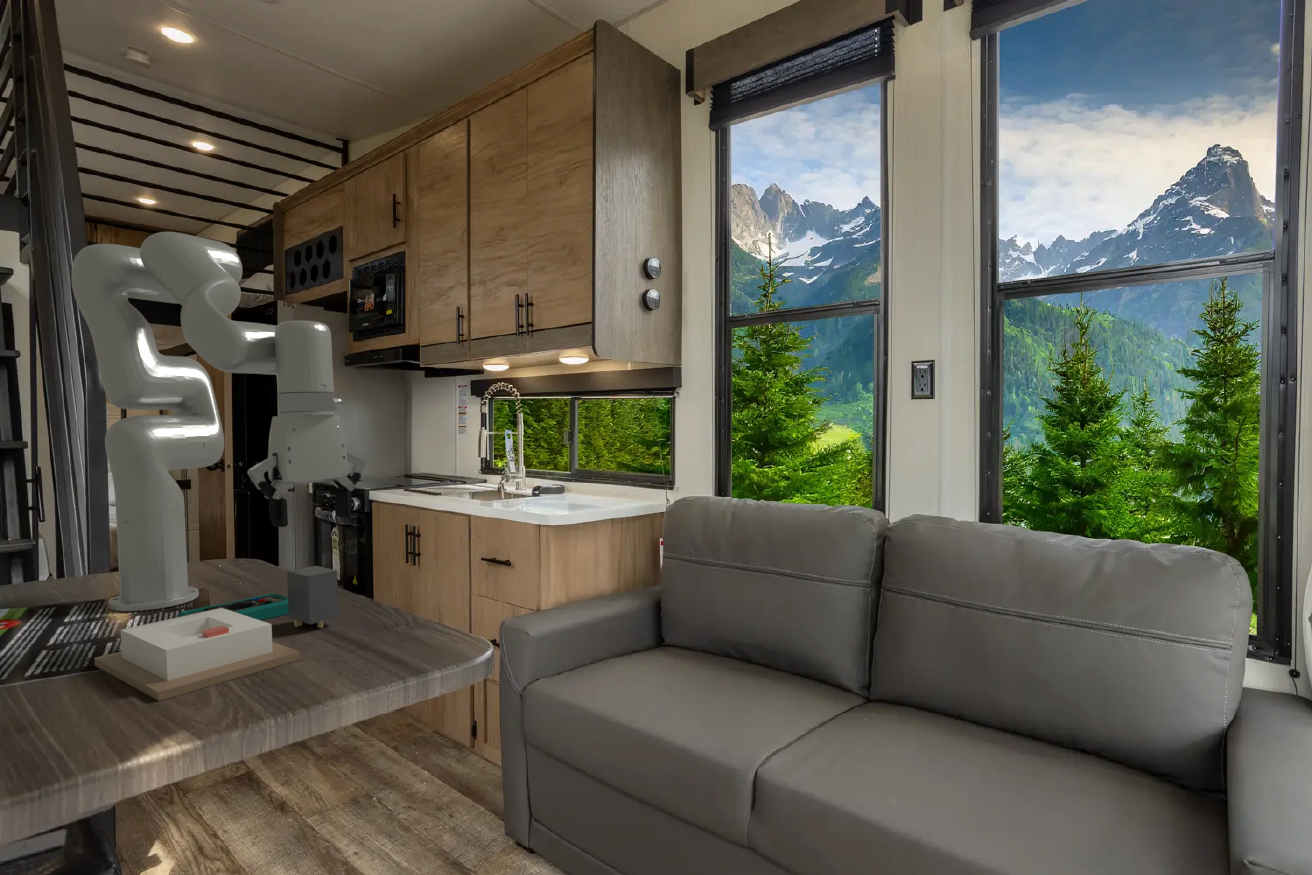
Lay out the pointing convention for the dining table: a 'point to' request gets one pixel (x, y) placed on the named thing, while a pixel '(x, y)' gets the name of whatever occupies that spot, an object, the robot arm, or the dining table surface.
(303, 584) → the plug
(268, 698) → the dining table surface
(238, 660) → the socket
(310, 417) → the robot arm
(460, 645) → the dining table surface
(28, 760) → the dining table surface
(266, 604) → the digital multimeter
